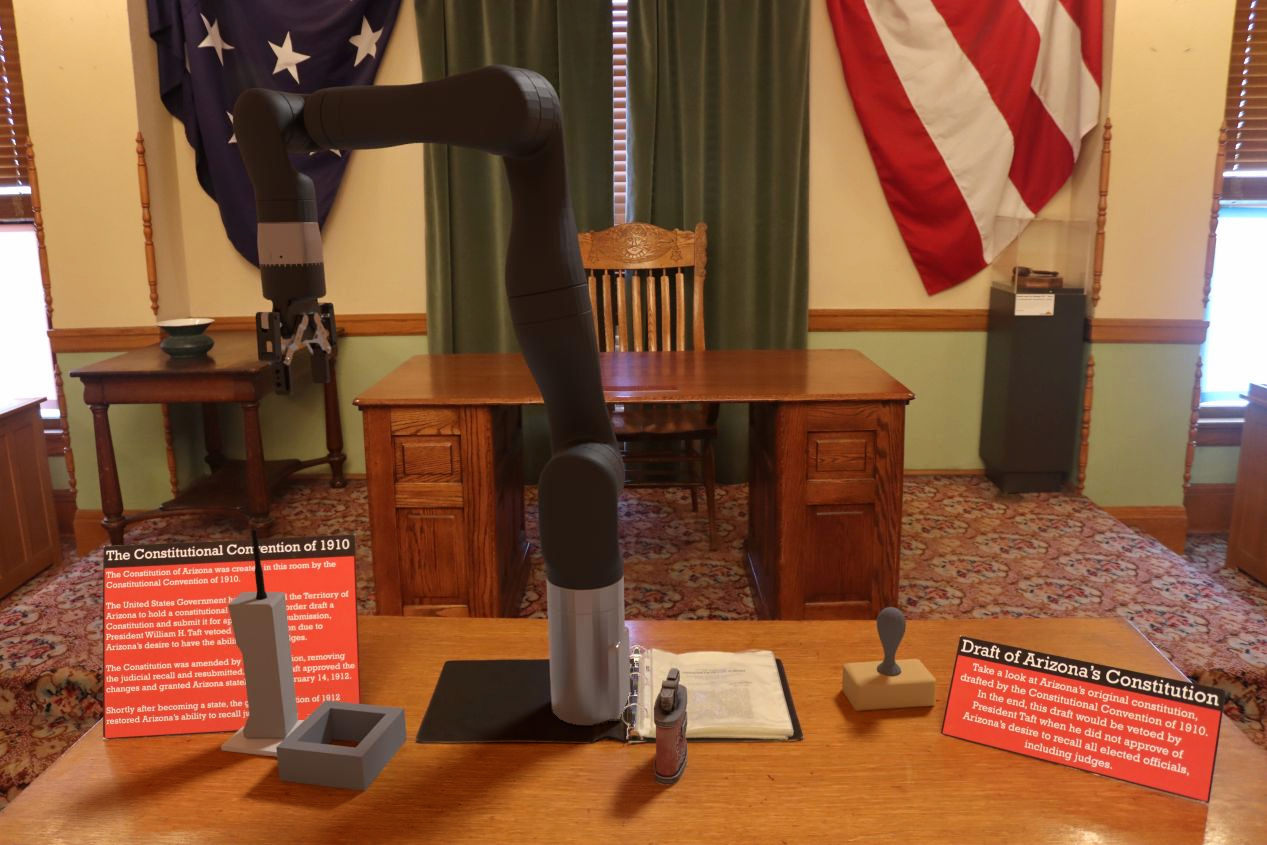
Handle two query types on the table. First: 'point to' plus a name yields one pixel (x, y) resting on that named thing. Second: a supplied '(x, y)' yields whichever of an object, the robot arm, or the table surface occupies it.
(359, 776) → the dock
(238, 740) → the tile
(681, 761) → the lighter
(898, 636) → the rubber stamp
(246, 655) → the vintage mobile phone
